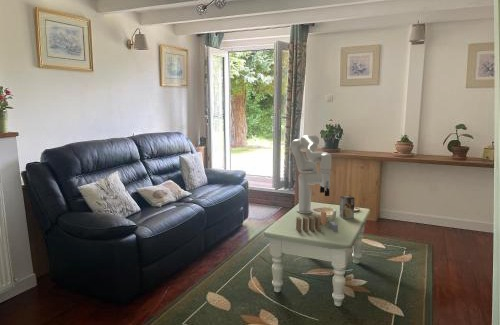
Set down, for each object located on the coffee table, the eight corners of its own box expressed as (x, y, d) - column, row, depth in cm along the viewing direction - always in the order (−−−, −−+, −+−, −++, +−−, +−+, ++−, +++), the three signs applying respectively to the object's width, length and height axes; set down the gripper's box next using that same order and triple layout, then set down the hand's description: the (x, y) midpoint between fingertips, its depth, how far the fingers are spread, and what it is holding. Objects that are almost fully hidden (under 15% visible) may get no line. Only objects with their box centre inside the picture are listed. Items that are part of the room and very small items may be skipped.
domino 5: (320, 222, 263) (321, 210, 262) (323, 222, 264) (323, 210, 262) (323, 224, 258) (323, 212, 256) (325, 224, 258) (326, 212, 257)
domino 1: (296, 229, 248) (296, 216, 247) (298, 229, 249) (299, 216, 247) (298, 232, 243) (298, 219, 242) (301, 231, 243) (301, 219, 242)
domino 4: (314, 228, 250) (315, 216, 249) (317, 228, 251) (318, 215, 249) (317, 231, 245) (317, 218, 243) (320, 231, 245) (320, 218, 244)
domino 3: (308, 228, 250) (309, 216, 248) (311, 228, 250) (311, 216, 248) (311, 231, 244) (311, 218, 243) (313, 231, 245) (314, 218, 243)
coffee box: (350, 215, 280) (351, 195, 277) (353, 218, 274) (355, 197, 271) (339, 216, 278) (340, 196, 275) (342, 218, 272) (343, 198, 269)
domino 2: (302, 229, 249) (302, 216, 248) (305, 228, 249) (305, 216, 248) (304, 231, 244) (305, 219, 242) (307, 231, 244) (308, 219, 242)
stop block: (329, 227, 253) (329, 221, 252) (333, 226, 254) (333, 221, 253) (333, 231, 245) (333, 225, 245) (337, 230, 246) (337, 225, 245)
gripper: (316, 168, 262) (315, 191, 265) (324, 173, 245) (323, 197, 248) (326, 168, 263) (325, 191, 266) (335, 173, 246) (334, 197, 249)
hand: (324, 194), depth 257 cm, fingers open, 9 cm apart
